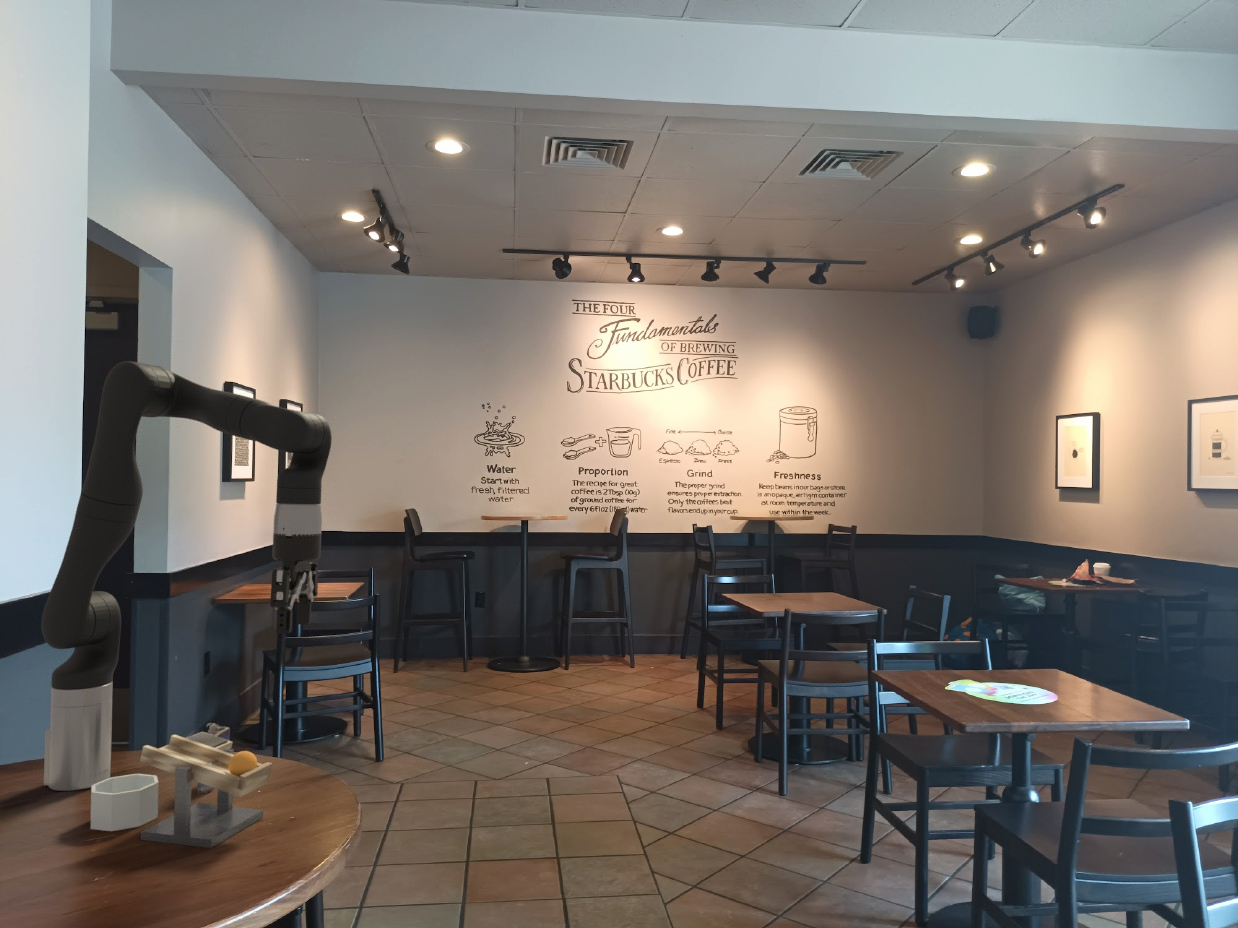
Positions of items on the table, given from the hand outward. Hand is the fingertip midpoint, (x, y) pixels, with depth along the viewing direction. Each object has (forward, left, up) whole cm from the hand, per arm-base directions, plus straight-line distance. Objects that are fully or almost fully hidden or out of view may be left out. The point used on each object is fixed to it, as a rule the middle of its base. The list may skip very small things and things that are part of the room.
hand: (293, 628), depth 143 cm
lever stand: (-7, -12, -29) cm, 32 cm away
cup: (-21, -12, -29) cm, 38 cm away
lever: (-7, -9, -20) cm, 23 cm away
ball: (0, -12, -19) cm, 22 cm away
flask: (-19, +5, -29) cm, 35 cm away
